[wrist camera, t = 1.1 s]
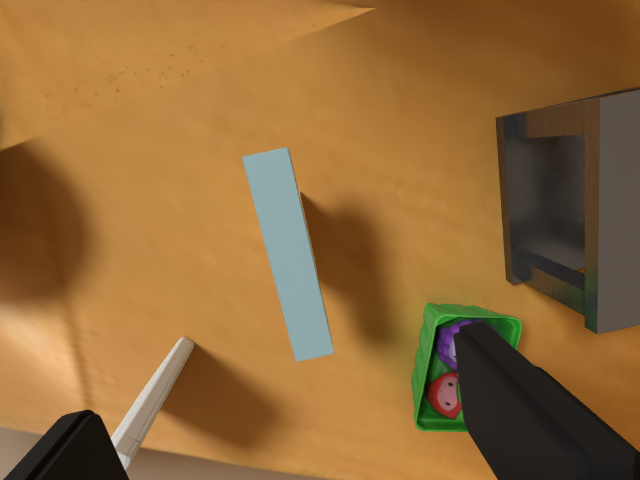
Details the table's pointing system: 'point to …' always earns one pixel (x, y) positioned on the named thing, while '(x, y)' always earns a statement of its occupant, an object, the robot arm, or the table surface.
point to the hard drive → (149, 403)
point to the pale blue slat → (289, 251)
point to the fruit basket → (448, 363)
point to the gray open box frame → (575, 204)
